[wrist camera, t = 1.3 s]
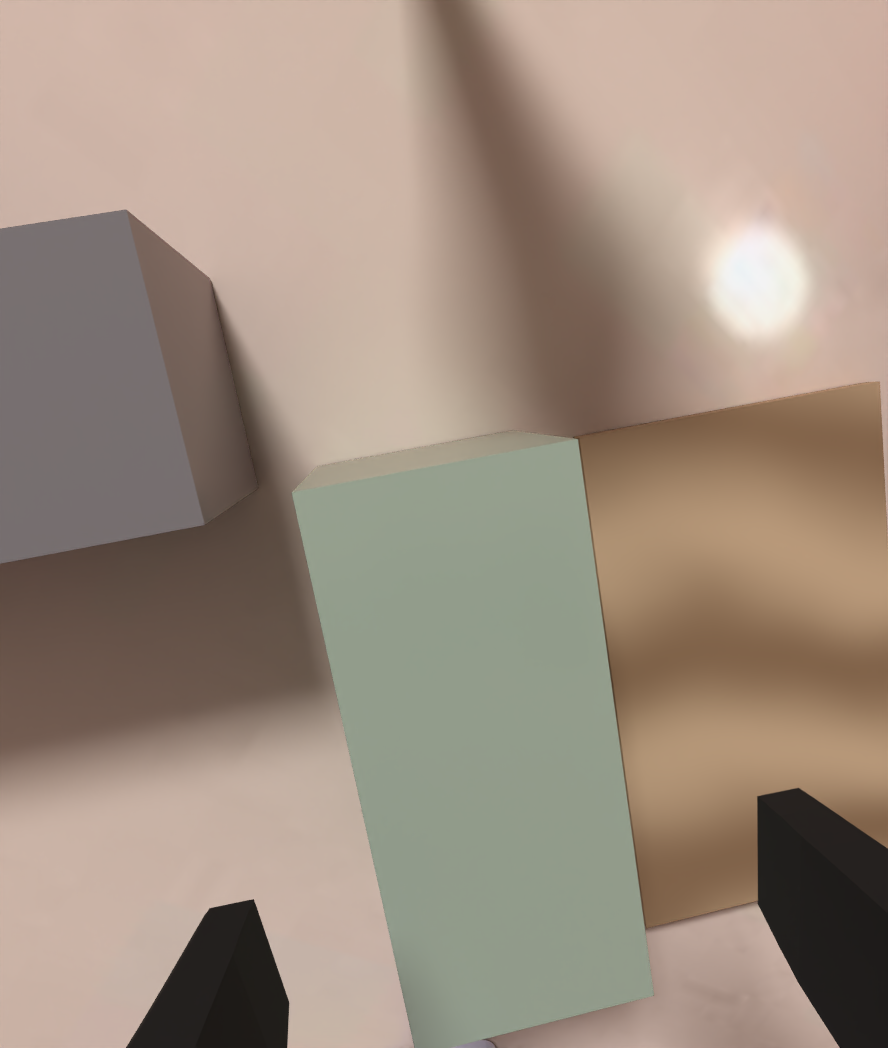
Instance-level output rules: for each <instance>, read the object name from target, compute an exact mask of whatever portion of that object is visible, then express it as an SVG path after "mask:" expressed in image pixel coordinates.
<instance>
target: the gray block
mask: <svg viewBox="0 0 888 1048" xmlns="http://www.w3.org/2000/svg"><path fill="white" fill-rule="evenodd" d="M257 489H258V484H257V480H256V476H255V471H254V467H253V463H252V458H251V454H250V450H249V445H248V441H247V437H246V432H245V428H244V424H243V419H242V415H241V411H240V406H239V402H238V398H237V393H236V389H235V385H234V380H233V376H232V372H231V367H230V363H229V359H228V354H227V350H226V346H225V341H224V337H223V333H222V328H221V324H220V320H219V315H218V311H217V307H216V302H215V298H214V294H213V289H212V285H211V281H210V278H209V277H208V276H206V275H205V274H204V273H203V272H202V271H200V270H199V269H198V268H197V267H195V266H194V265H193V264H192V263H191V262H189V261H188V260H187V259H186V258H184V257H183V256H182V255H181V254H180V253H178V252H177V251H176V250H175V249H174V248H172V247H171V246H170V245H169V244H167V243H166V242H165V241H164V240H163V239H161V238H160V237H159V236H158V235H157V234H155V233H154V232H153V231H152V230H150V229H149V228H148V227H147V226H146V225H144V224H143V223H142V222H141V221H139V220H138V219H137V218H136V217H135V216H133V215H132V214H131V213H130V212H129V211H127V210H121V211H114V212H107V213H101V214H94V215H88V216H81V217H74V218H68V219H61V220H55V221H48V222H41V223H35V224H28V225H22V226H15V227H8V228H2V229H0V564H1V563H6V562H11V561H17V560H22V559H27V558H33V557H38V556H43V555H49V554H54V553H59V552H64V551H70V550H75V549H80V548H86V547H91V546H96V545H101V544H107V543H112V542H117V541H123V540H128V539H133V538H139V537H144V536H149V535H154V534H160V533H165V532H170V531H176V530H181V529H186V528H192V527H197V526H202V525H205V524H207V523H208V522H210V521H211V520H213V519H214V518H216V517H217V516H219V515H220V514H222V513H223V512H224V511H226V510H227V509H229V508H230V507H232V506H233V505H235V504H236V503H238V502H239V501H241V500H242V499H243V498H245V497H246V496H248V495H249V494H251V493H252V492H254V491H255V490H257Z"/></svg>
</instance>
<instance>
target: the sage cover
mask: <svg viewBox="0 0 888 1048" xmlns="http://www.w3.org/2000/svg"><path fill="white" fill-rule="evenodd" d="M292 496H293V501H294V505H295V510H296V515H297V519H298V524H299V528H300V533H301V537H302V542H303V546H304V551H305V555H306V560H307V564H308V569H309V573H310V578H311V582H312V587H313V591H314V596H315V600H316V605H317V609H318V614H319V618H320V623H321V627H322V632H323V636H324V641H325V646H326V650H327V655H328V659H329V664H330V668H331V673H332V677H333V682H334V686H335V691H336V695H337V700H338V704H339V709H340V713H341V718H342V722H343V727H344V731H345V736H346V740H347V745H348V749H349V754H350V758H351V763H352V767H353V772H354V777H355V781H356V786H357V790H358V795H359V799H360V804H361V808H362V813H363V817H364V822H365V826H366V831H367V835H368V840H369V844H370V849H371V853H372V858H373V862H374V867H375V871H376V876H377V880H378V885H379V889H380V894H381V898H382V903H383V908H384V912H385V917H386V921H387V926H388V930H389V935H390V939H391V944H392V948H393V953H394V957H395V962H396V966H397V971H398V975H399V980H400V984H401V989H402V993H403V998H404V1002H405V1007H406V1011H407V1016H408V1020H409V1025H410V1029H411V1034H412V1039H413V1043H414V1048H451V1047H455V1046H459V1045H463V1044H467V1043H471V1042H475V1041H479V1040H483V1039H487V1038H490V1037H494V1036H498V1035H502V1034H506V1033H510V1032H514V1031H518V1030H522V1029H526V1028H530V1027H534V1026H537V1025H541V1024H545V1023H549V1022H553V1021H557V1020H561V1019H565V1018H569V1017H573V1016H577V1015H580V1014H584V1013H588V1012H592V1011H596V1010H600V1009H604V1008H608V1007H612V1006H616V1005H620V1004H624V1003H627V1002H631V1001H635V1000H639V999H643V998H647V997H651V996H654V992H653V984H652V977H651V970H650V962H649V955H648V948H647V941H646V933H645V926H644V919H643V911H642V904H641V897H640V889H639V882H638V875H637V868H636V860H635V853H634V846H633V838H632V831H631V824H630V816H629V809H628V802H627V795H626V787H625V780H624V773H623V765H622V758H621V751H620V743H619V736H618V729H617V721H616V714H615V707H614V700H613V692H612V685H611V678H610V670H609V663H608V656H607V648H606V641H605V634H604V627H603V619H602V612H601V605H600V597H599V590H598V583H597V575H596V568H595V561H594V554H593V546H592V539H591V532H590V524H589V517H588V510H587V502H586V495H585V488H584V481H583V473H582V466H581V459H580V451H579V444H578V439H574V438H567V437H559V436H552V435H545V434H537V433H530V432H522V431H515V430H511V431H506V432H501V433H495V434H490V435H484V436H479V437H473V438H468V439H463V440H457V441H452V442H446V443H441V444H436V445H430V446H425V447H419V448H414V449H408V450H403V451H398V452H392V453H387V454H381V455H376V456H370V457H365V458H360V459H354V460H349V461H343V462H338V463H333V464H327V465H322V466H317V467H316V468H315V469H314V470H313V471H312V472H311V473H310V474H309V475H308V476H307V477H306V478H305V479H304V480H303V481H302V482H301V483H300V484H299V485H298V486H297V488H296V489H295V490H294V491H293V492H292Z"/></svg>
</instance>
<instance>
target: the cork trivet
mask: <svg viewBox="0 0 888 1048" xmlns="http://www.w3.org/2000/svg"><path fill="white" fill-rule="evenodd" d="M573 438H574V439H578V444H579V451H580V459H581V466H582V473H583V481H584V488H585V495H586V502H587V510H588V517H589V524H590V532H591V539H592V546H593V554H594V561H595V568H596V575H597V583H598V590H599V597H600V605H601V612H602V619H603V627H604V634H605V641H606V648H607V656H608V663H609V670H610V678H611V685H612V692H613V700H614V707H615V714H616V721H617V729H618V736H619V743H620V751H621V758H622V765H623V773H624V780H625V787H626V795H627V802H628V809H629V816H630V824H631V831H632V838H633V846H634V853H635V860H636V868H637V875H638V882H639V889H640V897H641V904H642V911H643V919H644V925H645V926H646V928H649V927H653V926H658V925H662V924H666V923H670V922H674V921H678V920H682V919H686V918H690V917H694V916H698V915H702V914H706V913H710V912H714V911H718V910H722V909H726V908H730V907H734V906H738V905H742V904H747V903H751V902H755V901H758V846H757V796H761V795H765V794H770V793H775V792H780V791H785V790H790V789H795V788H800V789H801V790H803V791H804V792H806V793H807V794H809V795H810V796H812V797H813V798H815V799H816V800H818V801H819V802H821V803H822V804H824V805H825V806H827V807H828V808H829V809H831V810H832V811H834V812H835V813H837V814H838V815H840V816H841V817H843V818H844V819H845V820H847V821H848V822H850V823H851V824H853V825H854V826H856V827H857V828H859V829H860V830H861V831H863V832H864V833H866V834H867V835H869V836H870V837H872V838H873V839H875V840H876V841H878V842H879V843H880V844H882V845H883V846H885V847H886V848H888V536H887V516H886V496H885V477H884V457H883V437H882V417H881V398H880V382H866V383H859V384H854V385H849V386H843V387H838V388H833V389H827V390H822V391H817V392H811V393H806V394H800V395H795V396H790V397H784V398H779V399H774V400H768V401H763V402H758V403H752V404H747V405H742V406H736V407H731V408H725V409H720V410H715V411H709V412H704V413H699V414H693V415H688V416H683V417H677V418H672V419H666V420H661V421H656V422H650V423H645V424H640V425H634V426H629V427H624V428H618V429H613V430H608V431H602V432H597V433H591V434H586V435H581V436H575V437H573Z"/></svg>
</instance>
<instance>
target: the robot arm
mask: <svg viewBox="0 0 888 1048" xmlns="http://www.w3.org/2000/svg"><path fill="white" fill-rule="evenodd" d="M757 846H758V905H759V907H760V909H761V911H762V913H763V915H764V917H765V919H766V921H767V923H768V925H769V927H770V929H771V931H772V933H773V935H774V937H775V939H776V941H777V943H778V945H779V947H780V949H781V951H782V953H783V954H784V956H785V958H786V960H787V962H788V964H789V966H790V968H791V970H792V971H793V973H794V975H795V977H796V979H797V981H798V983H799V984H800V986H801V988H802V989H803V991H804V992H805V994H806V995H807V997H808V999H809V1000H810V1002H811V1003H812V1005H813V1007H814V1008H815V1010H816V1011H817V1013H818V1014H819V1016H820V1017H821V1019H822V1021H823V1022H824V1024H825V1025H826V1027H827V1028H828V1030H829V1032H830V1033H831V1035H832V1036H833V1038H834V1039H835V1041H836V1042H837V1044H838V1046H839V1047H840V1048H888V848H886V847H885V846H883V845H882V844H880V843H879V842H878V841H876V840H875V839H873V838H872V837H870V836H869V835H867V834H866V833H864V832H863V831H861V830H860V829H859V828H857V827H856V826H854V825H853V824H851V823H850V822H848V821H847V820H845V819H844V818H843V817H841V816H840V815H838V814H837V813H835V812H834V811H832V810H831V809H829V808H828V807H827V806H825V805H824V804H822V803H821V802H819V801H818V800H816V799H815V798H813V797H812V796H810V795H809V794H807V793H806V792H804V791H803V790H801V789H800V788H795V789H790V790H785V791H780V792H775V793H770V794H765V795H761V796H757ZM288 1017H289V1001H288V998H287V995H286V992H285V989H284V986H283V983H282V980H281V977H280V974H279V972H278V969H277V966H276V963H275V960H274V957H273V954H272V951H271V948H270V945H269V942H268V939H267V937H266V934H265V931H264V928H263V925H262V922H261V919H260V916H259V913H258V910H257V907H256V904H255V902H254V899H253V900H248V901H243V902H238V903H233V904H228V905H223V906H219V907H214V908H210V909H209V910H208V912H207V913H206V914H205V916H204V917H203V919H202V921H201V922H200V924H199V926H198V927H197V929H196V931H195V933H194V934H193V936H192V938H191V939H190V941H189V943H188V945H187V946H186V948H185V950H184V952H183V953H182V955H181V957H180V958H179V960H178V962H177V964H176V965H175V967H174V969H173V970H172V972H171V974H170V976H169V977H168V979H167V981H166V982H165V984H164V986H163V988H162V989H161V991H160V993H159V994H158V996H157V998H156V999H155V1001H154V1003H153V1004H152V1006H151V1008H150V1009H149V1011H148V1013H147V1014H146V1016H145V1018H144V1019H143V1021H142V1023H141V1024H140V1026H139V1028H138V1029H137V1031H136V1033H135V1034H134V1036H133V1037H132V1039H131V1041H130V1042H129V1044H128V1046H127V1047H126V1048H287V1039H288ZM451 1048H495V1046H494V1044H493V1043H491V1042H490V1041H486V1040H479V1041H475V1042H471V1043H467V1044H463V1045H459V1046H455V1047H451Z"/></svg>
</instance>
